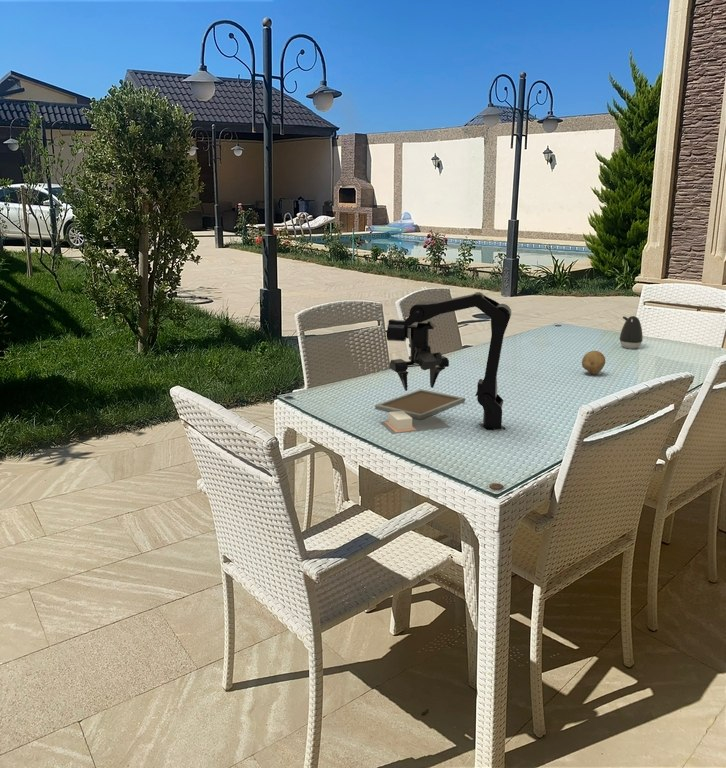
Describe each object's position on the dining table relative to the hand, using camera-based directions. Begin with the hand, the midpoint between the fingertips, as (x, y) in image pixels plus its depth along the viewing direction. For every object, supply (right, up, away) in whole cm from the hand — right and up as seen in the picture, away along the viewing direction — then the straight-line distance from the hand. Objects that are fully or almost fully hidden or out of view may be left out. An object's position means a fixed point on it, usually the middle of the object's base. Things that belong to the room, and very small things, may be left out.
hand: (419, 389), depth 235 cm
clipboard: (+1, -6, +17) cm, 18 cm away
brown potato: (+75, +5, +61) cm, 97 cm away
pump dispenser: (+108, +19, +109) cm, 155 cm away
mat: (-2, -12, -2) cm, 12 cm away
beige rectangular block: (-6, -12, -3) cm, 14 cm away
